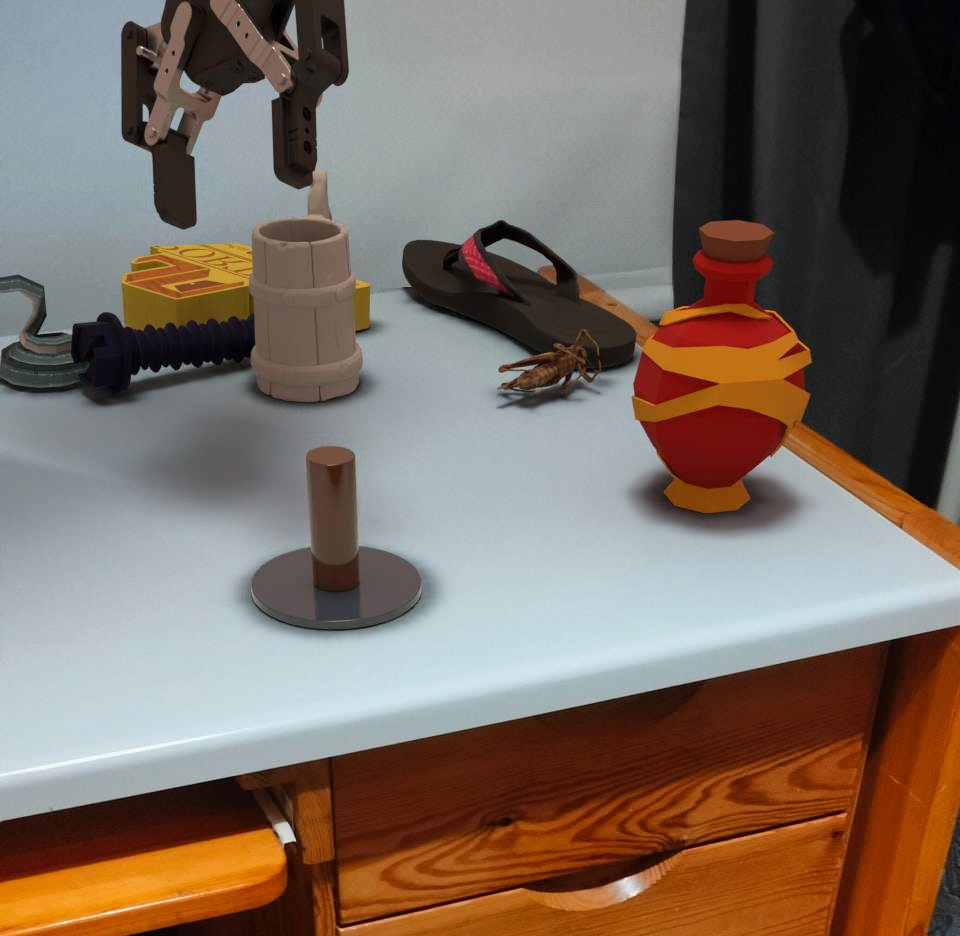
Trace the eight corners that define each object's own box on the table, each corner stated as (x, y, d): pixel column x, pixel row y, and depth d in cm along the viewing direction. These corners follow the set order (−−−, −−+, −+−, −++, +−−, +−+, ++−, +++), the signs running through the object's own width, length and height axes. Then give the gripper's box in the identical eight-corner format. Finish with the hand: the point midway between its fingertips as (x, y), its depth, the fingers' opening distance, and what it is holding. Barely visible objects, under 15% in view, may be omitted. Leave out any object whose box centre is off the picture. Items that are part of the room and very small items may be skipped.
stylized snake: (-85, 376, 113) (-105, 275, 109) (183, 333, 121) (174, 238, 117) (-52, 410, 109) (-72, 306, 104) (224, 363, 117) (216, 265, 112)
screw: (106, 375, 107) (80, 300, 107) (85, 408, 112) (60, 337, 111) (338, 348, 116) (315, 280, 116) (311, 381, 120) (288, 314, 120)
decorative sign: (197, 268, 132) (43, 296, 123) (195, 229, 131) (39, 254, 122) (374, 326, 122) (220, 360, 113) (374, 285, 120) (218, 316, 111)
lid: (220, 609, 88) (206, 472, 83) (301, 541, 95) (292, 410, 90) (376, 643, 86) (371, 504, 81) (448, 571, 92) (449, 438, 87)
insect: (536, 426, 109) (485, 420, 113) (621, 384, 113) (569, 380, 117) (525, 356, 107) (473, 353, 110) (612, 316, 111) (559, 314, 114)
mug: (240, 400, 111) (224, 206, 103) (281, 342, 120) (269, 159, 112) (350, 408, 110) (343, 213, 102) (383, 349, 119) (379, 165, 111)
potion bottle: (617, 524, 97) (637, 252, 87) (630, 457, 105) (650, 200, 95) (794, 537, 96) (836, 264, 86) (794, 468, 104) (832, 210, 94)
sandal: (479, 263, 134) (479, 187, 130) (672, 355, 119) (679, 272, 115) (380, 283, 130) (378, 205, 126) (567, 380, 115) (571, 295, 111)
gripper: (74, -112, 85) (88, 217, 87) (272, -225, 77) (284, 142, 79) (180, -49, 91) (192, 257, 93) (376, -147, 83) (384, 192, 85)
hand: (234, 204), depth 86 cm, fingers open, 8 cm apart
